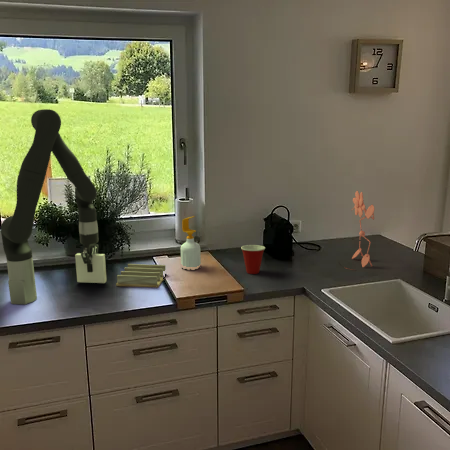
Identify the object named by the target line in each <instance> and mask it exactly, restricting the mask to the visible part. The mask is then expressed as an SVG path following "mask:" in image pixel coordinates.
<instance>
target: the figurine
mask: <svg viewBox="0 0 450 450" xmlns="http://www.w3.org/2000/svg"><path fill="white" fill-rule="evenodd" d="M354 196H355V197H353V198H352V203H353V204H354V207H353V208H352V209H351V212H352V211H353V210H354V214H355V216H358V217H359V218H360V219H359V226H360V231H359V233H358V235H359V239H362V238H364V239H365V240H366V241H368V242H369V244H368V248H367V252H366V253H365V254H364V255H363V252H362V248H361V242H358V243H359V244H358V245H359V246H358V247H359V248H358V249H357V250H356V251H355V253H353V255H352V257H351V260H353V259H355V258H357V257H358V256H360V257H362V259H361V266H362V268H364V267H366V266H367V265H368V264H370V267H373V264H372V261H371V260H370V257H371V256H370V254H369V251H370V246H371V243H372V242H371V241H370V240H369V239H368V238H366V236H365V235H366V233H365V231H364V230H362V229H363V228H362V222H361V221H363V220H364V219H366V218H367V220H369V219H370V218H371V219H372V220H375V206H374V204H371V205H369V206H368V208H367V209H366V205H365V203H364V201H365V200H364V194H363V191H360V193H359V191H358V190H356V191H355V194H354ZM363 212H364V213H363ZM363 214H364V215H365V216H364V217H362V216H363ZM361 237H362V238H361ZM360 254H361V255H360ZM345 269H348V270H349V267H345ZM350 270H351V271H353V269H351V268H350ZM355 271H357V270H356V269H355Z"/></svg>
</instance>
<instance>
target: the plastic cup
mask: <svg viewBox="0 0 450 450" xmlns="http://www.w3.org/2000/svg"><path fill="white" fill-rule="evenodd" d="M240 248H241V250H242V256H243V261H244V266H245V270H246V273H247V274H248V275H257V274H259V273H260V270H261V266H262V261H263V254H264V251H265V249H266V247H265V246H264V245H259V244H246V245H242V246H241V247H240Z"/></svg>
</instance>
